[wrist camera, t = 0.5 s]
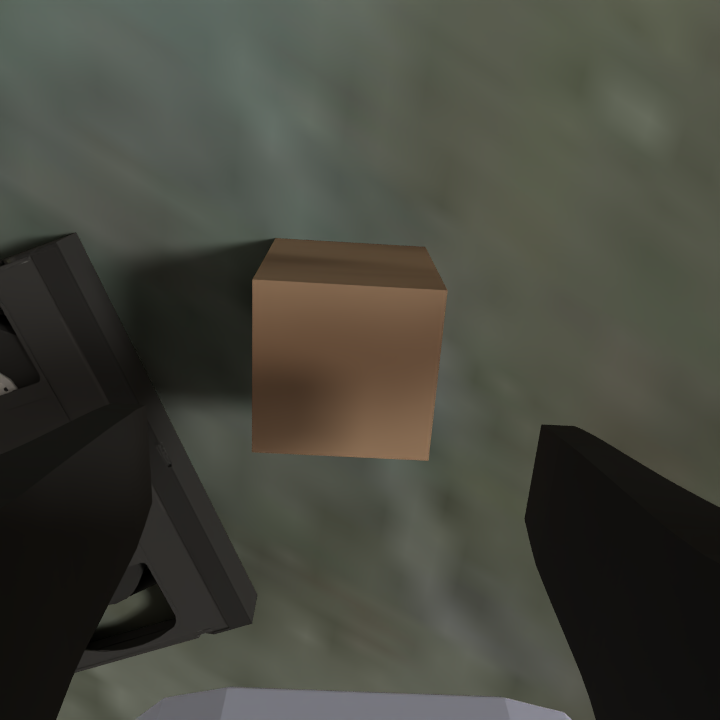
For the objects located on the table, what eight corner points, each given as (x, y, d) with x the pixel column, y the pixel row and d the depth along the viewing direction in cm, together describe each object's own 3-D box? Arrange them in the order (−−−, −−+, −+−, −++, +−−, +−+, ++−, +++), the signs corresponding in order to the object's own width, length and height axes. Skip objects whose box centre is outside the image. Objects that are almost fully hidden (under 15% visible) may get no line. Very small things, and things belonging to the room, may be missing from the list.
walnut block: (411, 383, 22) (428, 460, 17) (273, 376, 21) (252, 452, 17) (424, 246, 20) (447, 290, 15) (275, 237, 20) (252, 279, 15)
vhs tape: (-142, 310, 21) (-190, 330, 19) (82, 229, 20) (55, 242, 18) (71, 639, 26) (50, 681, 24) (259, 584, 25) (251, 623, 23)
